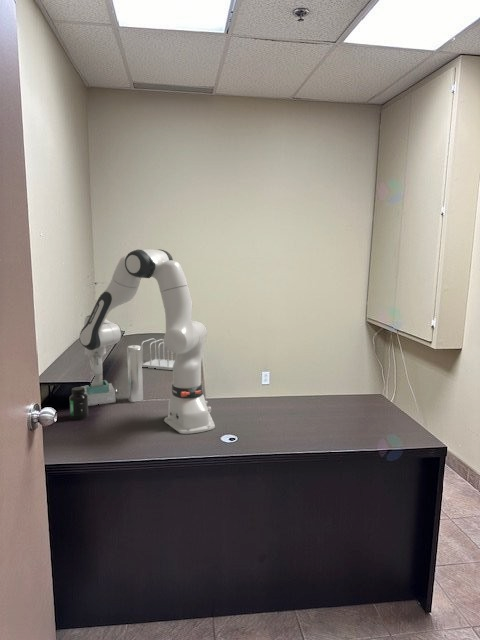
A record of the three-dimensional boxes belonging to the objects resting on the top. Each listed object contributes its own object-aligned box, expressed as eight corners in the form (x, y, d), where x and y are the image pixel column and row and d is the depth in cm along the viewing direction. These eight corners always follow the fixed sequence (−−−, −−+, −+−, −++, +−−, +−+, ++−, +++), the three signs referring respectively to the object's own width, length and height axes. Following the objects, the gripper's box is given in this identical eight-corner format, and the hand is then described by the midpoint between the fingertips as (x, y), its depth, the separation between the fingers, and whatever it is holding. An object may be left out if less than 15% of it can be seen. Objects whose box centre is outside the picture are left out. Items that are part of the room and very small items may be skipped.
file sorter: (191, 364, 255) (190, 339, 253) (177, 371, 239) (177, 345, 236) (155, 361, 263) (154, 337, 261) (140, 367, 247) (139, 342, 244)
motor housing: (120, 401, 186) (119, 385, 185) (82, 406, 180) (81, 389, 179) (115, 392, 199) (115, 377, 198) (80, 397, 193) (79, 381, 192)
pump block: (102, 385, 187) (102, 372, 186) (88, 386, 184) (87, 373, 183) (101, 382, 191) (101, 369, 190) (87, 383, 189) (86, 371, 188)
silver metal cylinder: (139, 402, 185) (137, 347, 182) (126, 401, 187) (124, 347, 183) (145, 398, 192) (144, 345, 188) (132, 397, 193) (130, 344, 190)
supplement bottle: (70, 421, 164) (69, 392, 162) (69, 415, 170) (68, 387, 168) (89, 418, 166) (87, 389, 165) (87, 413, 173) (86, 385, 171)
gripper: (105, 354, 178) (106, 385, 180) (100, 345, 196) (101, 373, 198) (89, 355, 175) (91, 387, 177) (86, 346, 194) (87, 375, 196)
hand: (96, 379), depth 188 cm, fingers closed on pump block, 5 cm apart
